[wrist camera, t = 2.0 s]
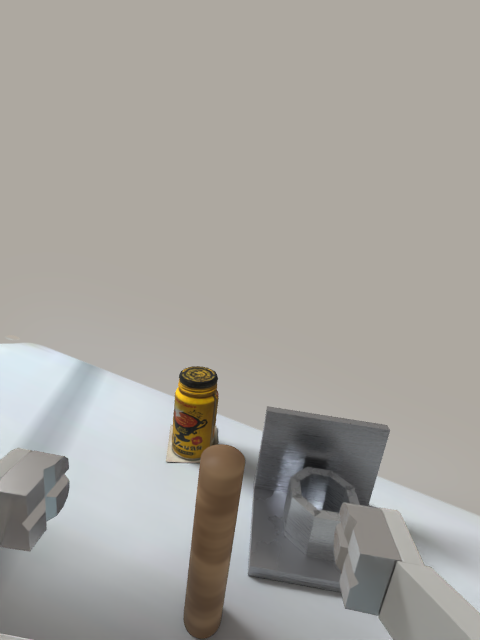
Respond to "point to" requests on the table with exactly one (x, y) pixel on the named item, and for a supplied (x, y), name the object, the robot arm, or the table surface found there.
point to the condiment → (193, 415)
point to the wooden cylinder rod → (212, 537)
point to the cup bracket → (308, 492)
